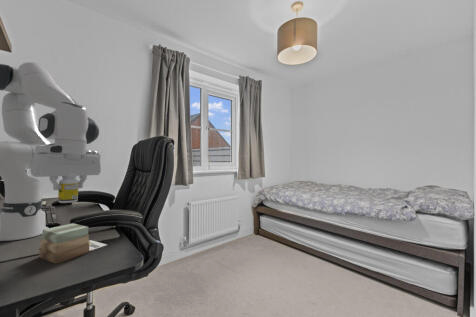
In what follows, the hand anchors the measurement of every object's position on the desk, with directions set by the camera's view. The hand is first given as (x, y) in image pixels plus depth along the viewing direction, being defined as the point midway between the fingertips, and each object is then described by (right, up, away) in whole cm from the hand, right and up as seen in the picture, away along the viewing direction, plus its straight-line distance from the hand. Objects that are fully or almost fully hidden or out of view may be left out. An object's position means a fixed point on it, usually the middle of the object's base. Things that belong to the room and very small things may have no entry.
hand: (68, 189), depth 76 cm
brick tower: (-1, -23, -1) cm, 23 cm away
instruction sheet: (+2, -23, +8) cm, 24 cm away
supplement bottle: (0, -5, 0) cm, 5 cm away
